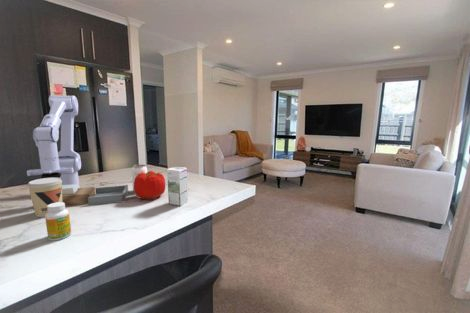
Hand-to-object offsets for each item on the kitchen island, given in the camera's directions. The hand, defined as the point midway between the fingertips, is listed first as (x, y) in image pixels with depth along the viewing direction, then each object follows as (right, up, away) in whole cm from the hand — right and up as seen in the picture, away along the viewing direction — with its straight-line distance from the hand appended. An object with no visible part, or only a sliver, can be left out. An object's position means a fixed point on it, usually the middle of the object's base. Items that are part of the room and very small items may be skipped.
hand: (53, 191), depth 92 cm
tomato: (+35, -4, +9) cm, 37 cm away
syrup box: (+49, -5, +1) cm, 50 cm away
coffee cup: (+5, -7, -9) cm, 12 cm away
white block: (+4, 0, +2) cm, 5 cm away
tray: (+19, -4, +7) cm, 20 cm away
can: (+28, -2, +17) cm, 33 cm away
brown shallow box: (+6, -4, +3) cm, 8 cm away
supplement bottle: (+21, -9, -25) cm, 34 cm away
